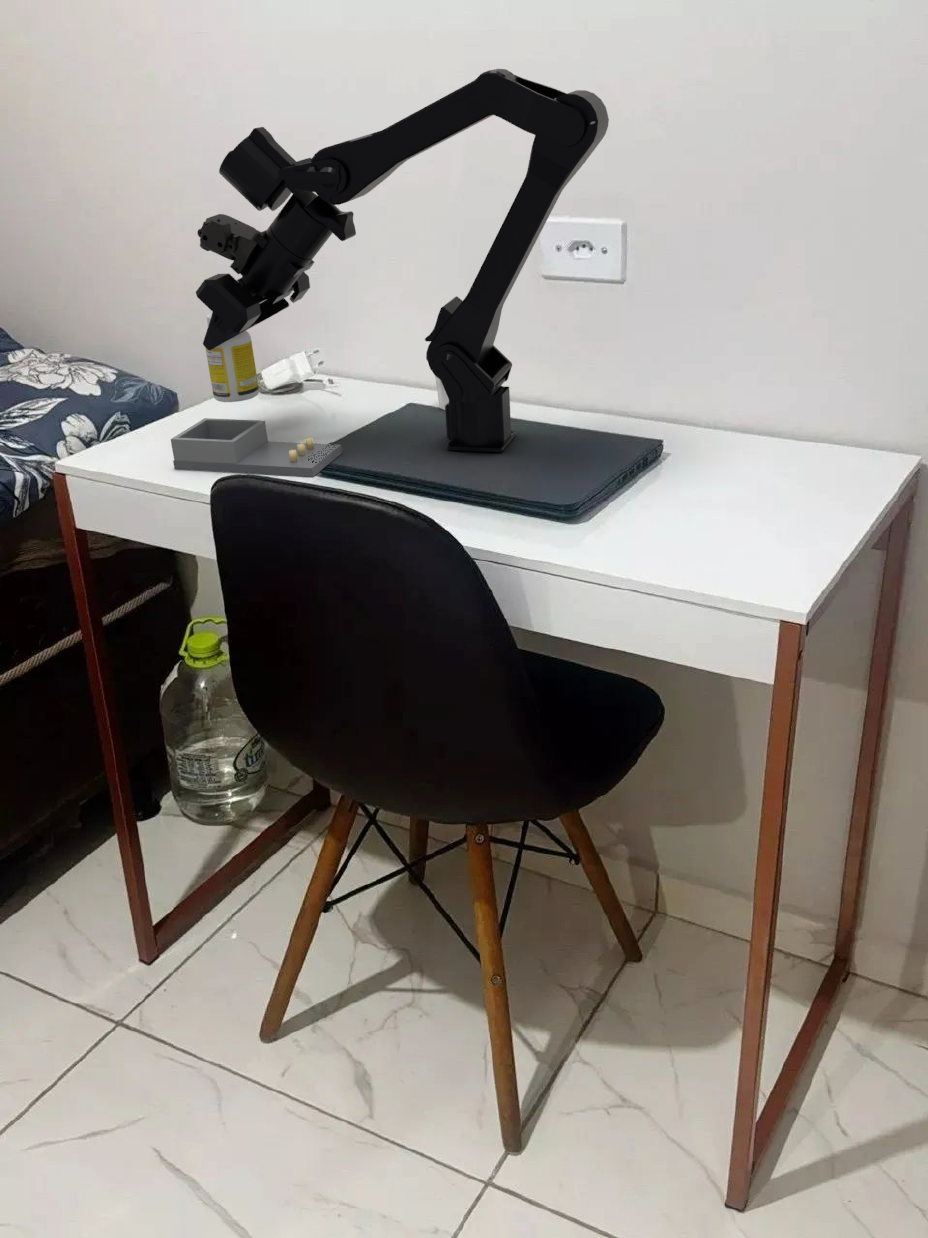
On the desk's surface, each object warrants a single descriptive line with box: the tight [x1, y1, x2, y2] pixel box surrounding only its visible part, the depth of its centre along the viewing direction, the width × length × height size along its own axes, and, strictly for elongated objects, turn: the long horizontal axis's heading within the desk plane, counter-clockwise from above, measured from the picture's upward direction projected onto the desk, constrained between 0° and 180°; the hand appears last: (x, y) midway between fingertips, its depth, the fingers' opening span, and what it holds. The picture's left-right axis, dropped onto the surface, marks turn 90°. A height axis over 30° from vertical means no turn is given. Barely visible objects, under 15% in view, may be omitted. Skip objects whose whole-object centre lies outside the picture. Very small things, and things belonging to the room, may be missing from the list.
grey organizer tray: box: [170, 418, 343, 478], centre depth 133 cm, size 17×8×4 cm, turn 73°
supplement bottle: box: [204, 312, 260, 403], centre depth 138 cm, size 5×5×10 cm
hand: (217, 341), depth 138 cm, fingers closed on supplement bottle, 5 cm apart
